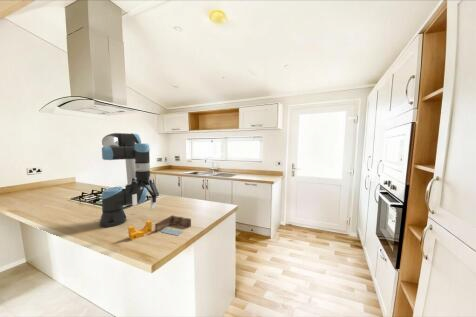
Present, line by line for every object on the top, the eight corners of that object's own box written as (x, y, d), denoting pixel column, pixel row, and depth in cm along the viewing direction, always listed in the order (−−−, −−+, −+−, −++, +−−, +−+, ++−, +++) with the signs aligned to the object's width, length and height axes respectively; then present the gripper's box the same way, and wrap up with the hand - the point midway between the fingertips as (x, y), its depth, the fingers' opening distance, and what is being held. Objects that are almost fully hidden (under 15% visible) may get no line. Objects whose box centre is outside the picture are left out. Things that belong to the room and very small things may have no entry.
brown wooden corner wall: (155, 231, 114) (155, 223, 113) (172, 222, 127) (172, 215, 127) (175, 236, 108) (175, 228, 108) (191, 226, 122) (190, 218, 121)
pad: (160, 231, 113) (160, 231, 113) (166, 228, 118) (166, 227, 118) (177, 235, 109) (177, 235, 109) (183, 232, 113) (183, 231, 113)
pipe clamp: (132, 240, 103) (131, 229, 103) (128, 238, 106) (128, 227, 106) (153, 232, 113) (152, 222, 112) (149, 230, 115) (149, 220, 115)
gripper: (120, 170, 107) (121, 206, 109) (155, 172, 99) (156, 211, 101) (131, 168, 114) (132, 202, 116) (165, 170, 106) (165, 207, 108)
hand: (143, 206), depth 109 cm, fingers open, 13 cm apart
